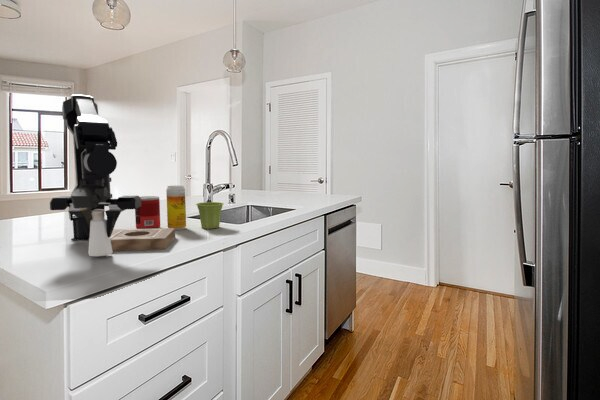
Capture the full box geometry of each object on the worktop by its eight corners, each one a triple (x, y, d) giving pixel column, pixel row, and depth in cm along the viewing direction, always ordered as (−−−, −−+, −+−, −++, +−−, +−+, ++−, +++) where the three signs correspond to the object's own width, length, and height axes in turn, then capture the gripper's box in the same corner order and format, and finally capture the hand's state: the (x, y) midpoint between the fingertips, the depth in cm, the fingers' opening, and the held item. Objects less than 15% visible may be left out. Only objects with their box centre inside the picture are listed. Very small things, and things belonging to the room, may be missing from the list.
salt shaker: (92, 251, 88) (89, 208, 87) (115, 250, 89) (113, 207, 88) (84, 257, 83) (81, 211, 82) (109, 256, 84) (106, 211, 83)
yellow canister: (180, 231, 118) (179, 186, 116) (164, 230, 119) (162, 186, 117) (189, 227, 124) (188, 185, 122) (173, 226, 125) (172, 185, 123)
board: (93, 251, 92) (92, 239, 91) (113, 239, 105) (112, 229, 105) (165, 249, 94) (164, 237, 94) (175, 237, 108) (174, 227, 108)
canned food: (165, 227, 124) (164, 196, 123) (148, 231, 117) (147, 199, 116) (148, 225, 127) (146, 195, 126) (130, 229, 119) (129, 197, 118)
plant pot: (199, 225, 129) (198, 201, 128) (225, 224, 130) (224, 201, 129) (194, 230, 119) (193, 205, 118) (222, 230, 120) (222, 205, 119)
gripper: (33, 175, 75) (38, 246, 76) (126, 175, 77) (129, 244, 79) (60, 173, 85) (64, 235, 87) (140, 173, 88) (143, 233, 90)
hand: (99, 237), depth 86 cm, fingers closed on salt shaker, 4 cm apart
